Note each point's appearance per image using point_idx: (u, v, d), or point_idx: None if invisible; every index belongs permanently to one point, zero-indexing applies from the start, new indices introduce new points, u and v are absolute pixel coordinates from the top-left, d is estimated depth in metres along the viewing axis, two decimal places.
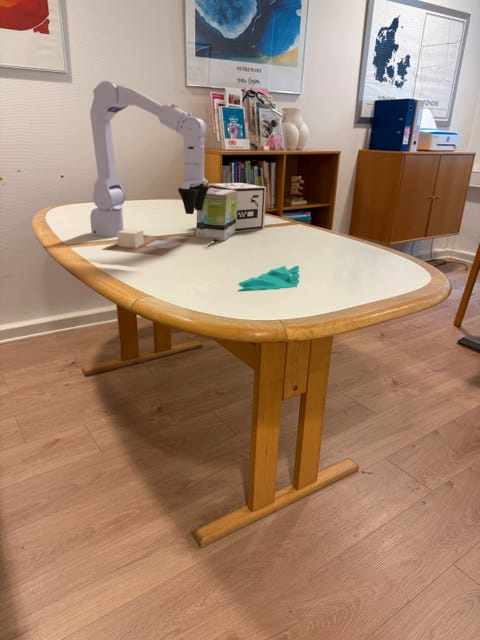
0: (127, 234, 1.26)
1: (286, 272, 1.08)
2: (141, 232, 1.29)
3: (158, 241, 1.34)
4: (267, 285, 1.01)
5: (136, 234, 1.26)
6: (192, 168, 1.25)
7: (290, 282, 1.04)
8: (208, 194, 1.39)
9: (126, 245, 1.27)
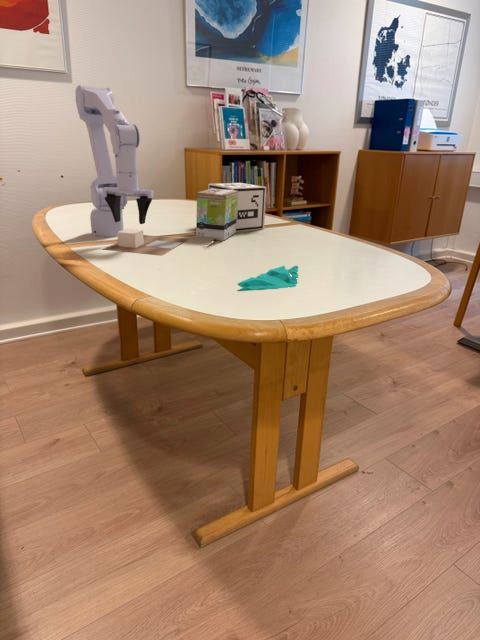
0: (127, 234, 1.26)
1: (285, 272, 1.08)
2: (141, 232, 1.29)
3: (158, 241, 1.34)
4: (266, 285, 1.01)
5: (136, 234, 1.26)
6: None
7: (289, 282, 1.04)
8: (208, 194, 1.39)
9: (126, 245, 1.27)
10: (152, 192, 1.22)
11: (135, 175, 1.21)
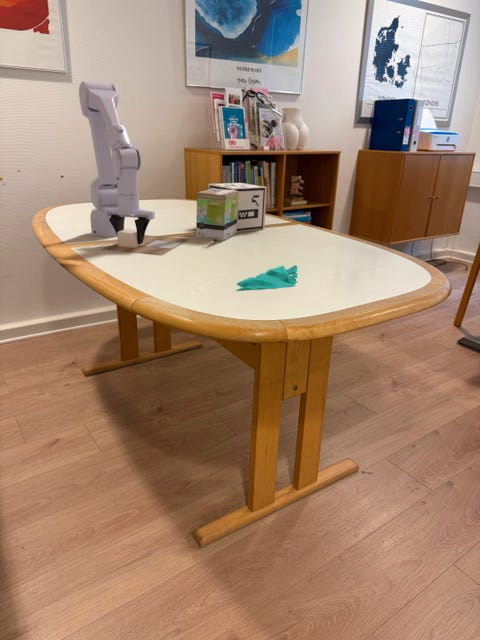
0: (127, 234, 1.26)
1: (284, 272, 1.08)
2: None
3: (158, 241, 1.34)
4: (266, 285, 1.01)
5: (136, 234, 1.26)
6: None
7: (288, 282, 1.04)
8: (208, 194, 1.39)
9: (126, 245, 1.27)
10: (153, 213, 1.25)
11: (136, 197, 1.23)
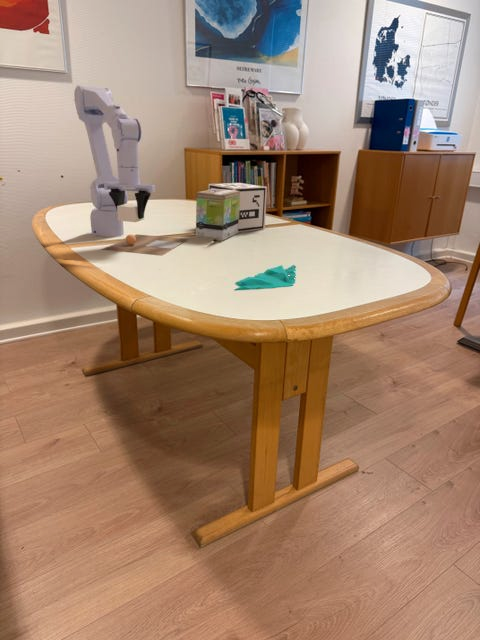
0: (127, 208, 1.23)
1: (283, 271, 1.08)
2: None
3: (158, 241, 1.34)
4: (264, 284, 1.01)
5: (136, 208, 1.23)
6: None
7: (286, 281, 1.04)
8: (207, 194, 1.39)
9: (126, 220, 1.24)
10: (153, 187, 1.22)
11: (136, 169, 1.20)
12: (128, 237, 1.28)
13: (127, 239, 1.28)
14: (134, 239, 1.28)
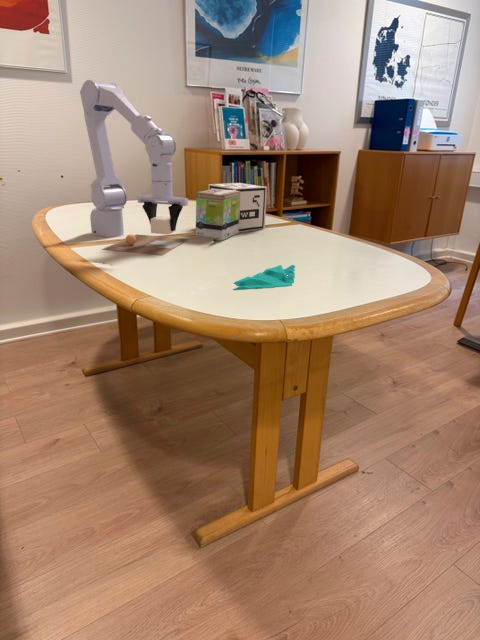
0: (160, 221, 1.26)
1: (282, 271, 1.08)
2: None
3: (158, 241, 1.34)
4: (262, 284, 1.01)
5: (169, 221, 1.26)
6: None
7: (285, 281, 1.05)
8: (207, 194, 1.39)
9: (159, 232, 1.27)
10: (186, 200, 1.25)
11: (170, 183, 1.24)
12: (128, 237, 1.28)
13: (127, 239, 1.28)
14: (134, 239, 1.28)
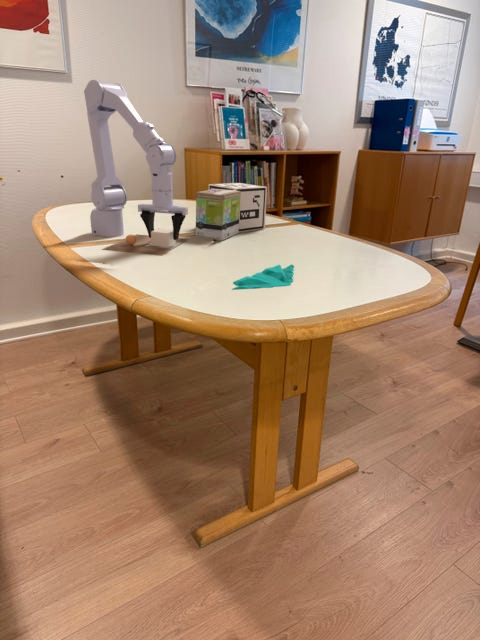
0: (161, 234, 1.27)
1: (280, 271, 1.08)
2: None
3: None
4: (261, 284, 1.02)
5: (169, 234, 1.28)
6: None
7: (284, 281, 1.05)
8: (206, 194, 1.39)
9: (159, 244, 1.29)
10: (186, 209, 1.26)
11: (170, 193, 1.25)
12: (128, 237, 1.28)
13: (127, 239, 1.28)
14: (134, 239, 1.28)
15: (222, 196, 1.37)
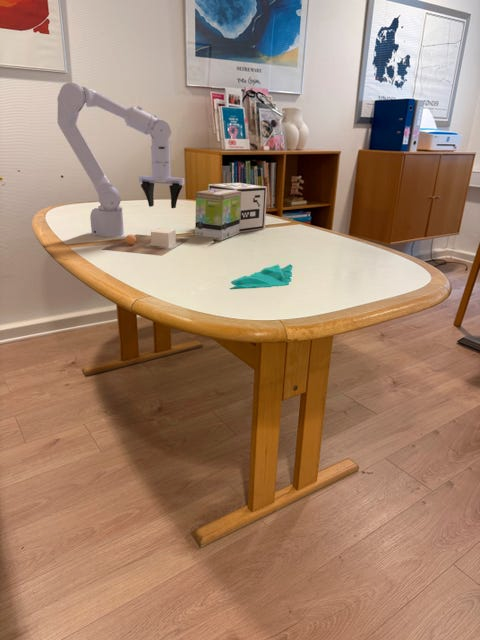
0: (161, 234, 1.27)
1: (279, 270, 1.09)
2: (174, 232, 1.31)
3: None
4: (259, 283, 1.02)
5: (169, 234, 1.28)
6: None
7: (282, 280, 1.05)
8: (206, 194, 1.39)
9: (159, 244, 1.29)
10: (183, 180, 1.38)
11: (168, 164, 1.37)
12: (128, 237, 1.28)
13: (127, 239, 1.28)
14: (134, 239, 1.28)
15: (221, 196, 1.37)
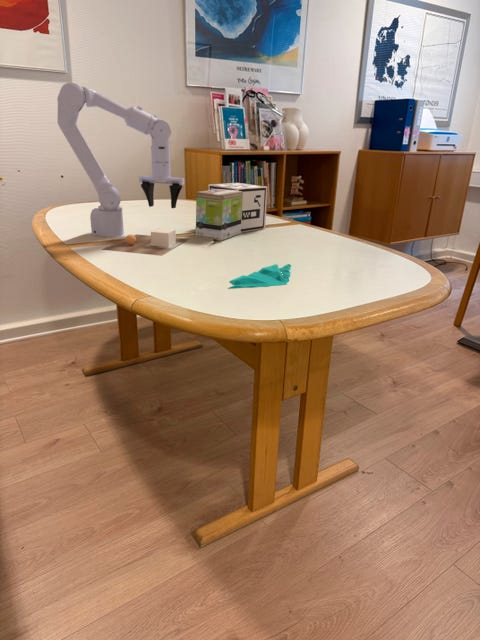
0: (161, 234, 1.27)
1: (277, 270, 1.09)
2: (174, 232, 1.31)
3: None
4: (257, 283, 1.02)
5: (169, 234, 1.28)
6: None
7: (280, 280, 1.05)
8: (206, 194, 1.39)
9: (159, 244, 1.29)
10: (183, 180, 1.38)
11: (168, 164, 1.37)
12: (128, 237, 1.28)
13: (127, 239, 1.28)
14: (134, 239, 1.28)
15: (221, 196, 1.37)
